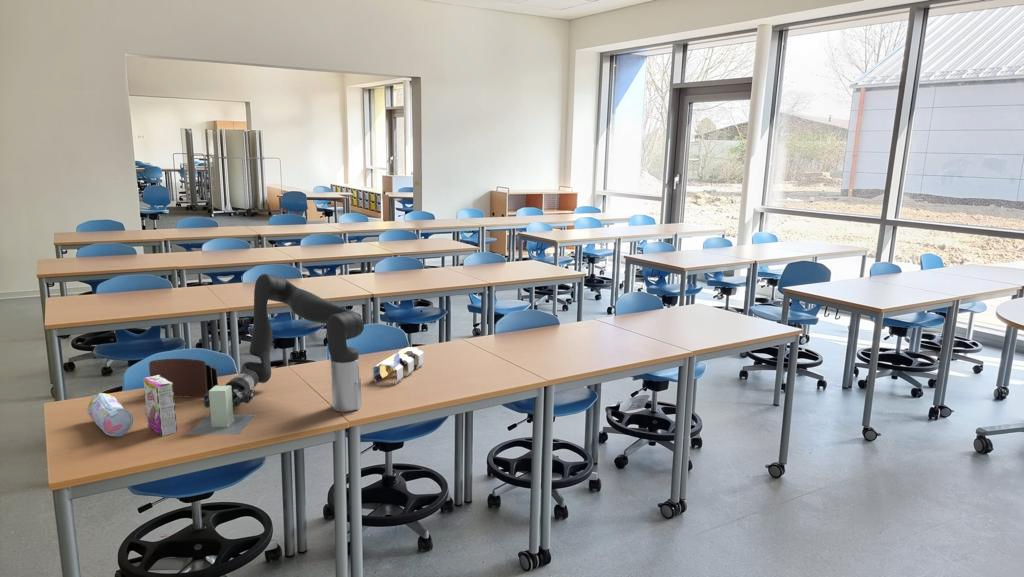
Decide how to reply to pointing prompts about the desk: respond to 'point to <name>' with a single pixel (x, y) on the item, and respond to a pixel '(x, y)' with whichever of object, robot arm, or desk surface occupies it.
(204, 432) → the gray tile
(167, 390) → the candy bar box
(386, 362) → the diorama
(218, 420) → the green block
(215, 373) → the letter holder
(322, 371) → the desk surface
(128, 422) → the pencil case
